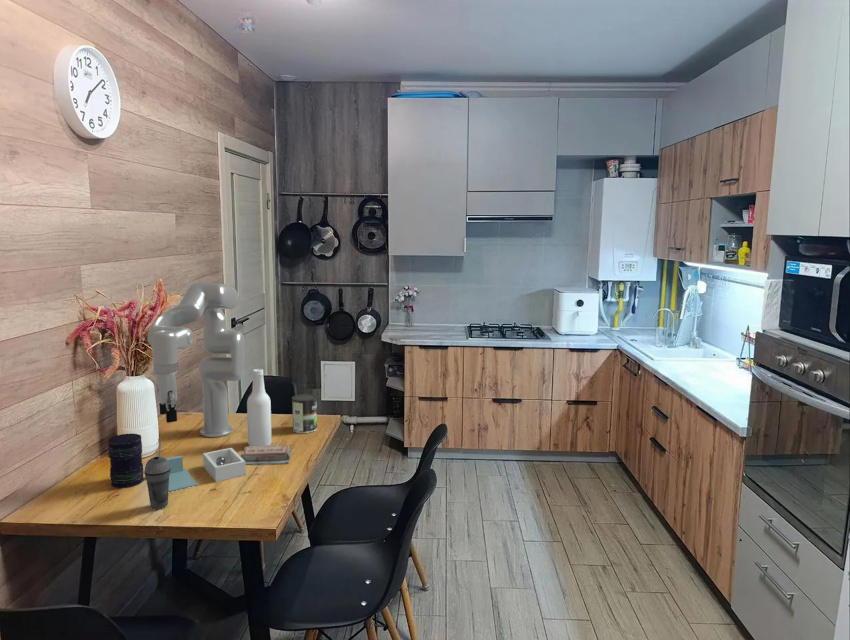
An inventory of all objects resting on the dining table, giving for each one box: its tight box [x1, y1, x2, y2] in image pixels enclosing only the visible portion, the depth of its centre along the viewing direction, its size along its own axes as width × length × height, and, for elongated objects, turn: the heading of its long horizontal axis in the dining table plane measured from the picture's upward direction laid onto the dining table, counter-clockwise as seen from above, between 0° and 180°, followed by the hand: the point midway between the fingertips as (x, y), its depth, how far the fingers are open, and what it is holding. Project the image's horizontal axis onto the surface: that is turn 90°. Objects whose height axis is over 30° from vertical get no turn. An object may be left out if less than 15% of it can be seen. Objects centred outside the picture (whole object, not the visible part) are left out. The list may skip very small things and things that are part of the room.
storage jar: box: [107, 433, 145, 489], centre depth 190 cm, size 10×10×15 cm
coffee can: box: [291, 393, 318, 434], centre depth 244 cm, size 10×10×14 cm
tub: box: [202, 447, 247, 483], centre depth 201 cm, size 15×10×5 cm, turn 36°
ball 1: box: [216, 457, 225, 463], centre depth 204 cm, size 3×3×3 cm
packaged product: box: [240, 445, 292, 466], centre depth 212 cm, size 18×5×10 cm
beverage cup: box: [143, 442, 171, 511], centre depth 174 cm, size 7×7×20 cm
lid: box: [164, 454, 199, 493], centre depth 192 cm, size 15×10×6 cm
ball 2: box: [216, 461, 224, 466], centre depth 200 cm, size 3×3×3 cm
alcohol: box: [246, 368, 272, 446], centre depth 224 cm, size 9×9×30 cm
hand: (168, 417), depth 195 cm, fingers open, 9 cm apart
